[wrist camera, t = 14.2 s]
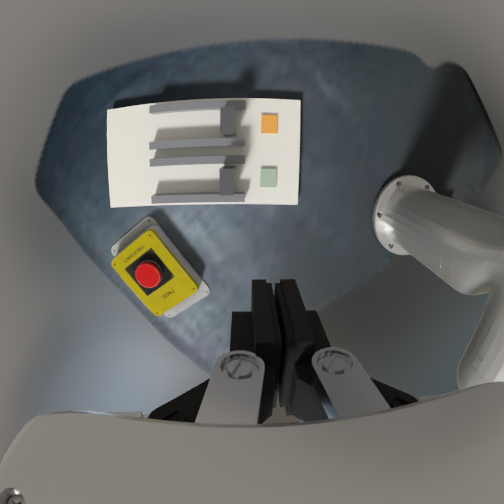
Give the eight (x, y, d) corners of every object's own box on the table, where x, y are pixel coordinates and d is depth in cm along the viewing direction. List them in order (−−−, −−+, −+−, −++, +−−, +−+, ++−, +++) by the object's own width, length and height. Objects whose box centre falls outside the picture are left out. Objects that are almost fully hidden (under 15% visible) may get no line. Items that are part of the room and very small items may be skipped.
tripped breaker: (236, 112, 33) (235, 106, 28) (236, 135, 34) (234, 133, 29) (223, 112, 33) (220, 107, 28) (223, 135, 34) (220, 133, 29)
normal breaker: (235, 166, 35) (234, 168, 31) (235, 189, 36) (234, 195, 32) (222, 166, 35) (219, 168, 31) (222, 189, 36) (219, 195, 32)
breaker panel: (298, 102, 34) (303, 98, 31) (295, 202, 39) (300, 207, 36) (111, 110, 33) (101, 108, 30) (115, 205, 38) (105, 210, 35)
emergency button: (141, 220, 35) (210, 304, 40) (151, 212, 40) (213, 290, 44) (98, 258, 37) (163, 333, 42) (110, 247, 41) (169, 317, 46)
